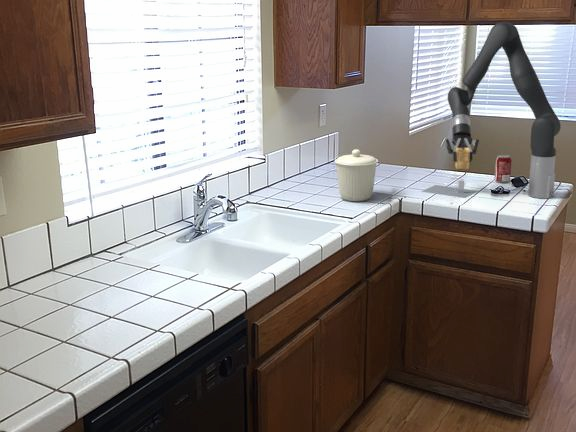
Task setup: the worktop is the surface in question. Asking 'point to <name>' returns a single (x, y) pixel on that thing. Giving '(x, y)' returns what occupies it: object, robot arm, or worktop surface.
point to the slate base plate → (449, 191)
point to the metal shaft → (461, 187)
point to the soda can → (503, 169)
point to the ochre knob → (462, 158)
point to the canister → (356, 176)
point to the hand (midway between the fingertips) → (462, 161)
